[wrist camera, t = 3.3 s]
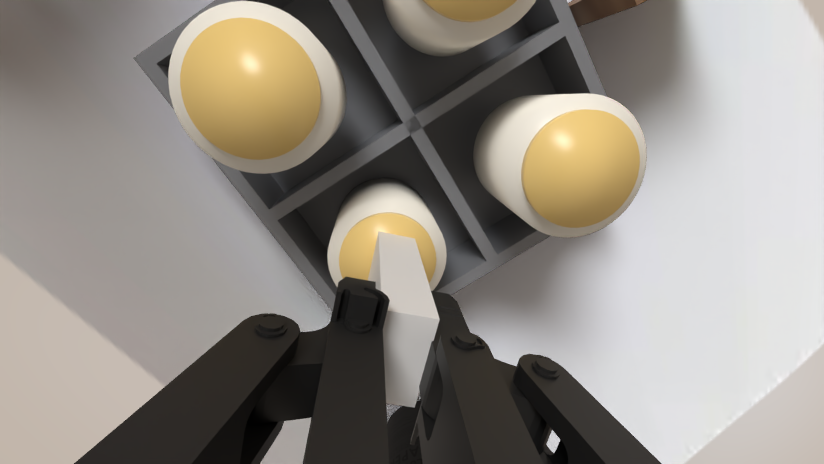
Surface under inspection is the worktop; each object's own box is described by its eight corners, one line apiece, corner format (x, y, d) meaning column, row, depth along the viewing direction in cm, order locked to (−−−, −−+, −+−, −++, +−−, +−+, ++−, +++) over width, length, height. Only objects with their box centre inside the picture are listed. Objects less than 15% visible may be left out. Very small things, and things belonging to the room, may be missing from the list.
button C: (318, 211, 22) (301, 245, 16) (399, 159, 21) (407, 178, 16) (371, 284, 23) (370, 336, 18) (447, 237, 23) (469, 277, 18)
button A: (198, 73, 17) (123, 61, 12) (299, 3, 16) (266, -41, 11) (275, 176, 18) (237, 205, 13) (369, 114, 18) (368, 120, 13)
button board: (183, 66, 21) (133, 57, 16) (459, -126, 19) (485, -191, 15) (363, 306, 25) (361, 348, 21) (594, 166, 24) (642, 180, 20)
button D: (453, 134, 19) (484, 147, 13) (550, 72, 18) (621, 61, 13) (504, 224, 20) (549, 266, 15) (595, 169, 20) (674, 192, 15)
